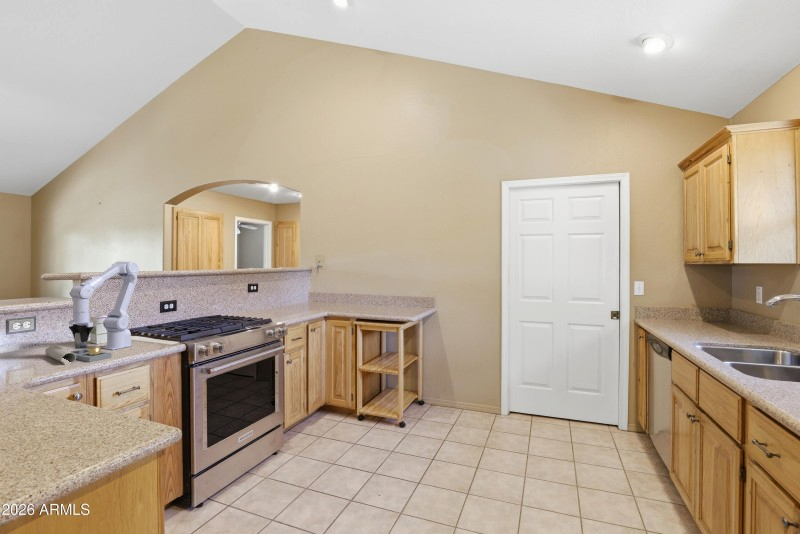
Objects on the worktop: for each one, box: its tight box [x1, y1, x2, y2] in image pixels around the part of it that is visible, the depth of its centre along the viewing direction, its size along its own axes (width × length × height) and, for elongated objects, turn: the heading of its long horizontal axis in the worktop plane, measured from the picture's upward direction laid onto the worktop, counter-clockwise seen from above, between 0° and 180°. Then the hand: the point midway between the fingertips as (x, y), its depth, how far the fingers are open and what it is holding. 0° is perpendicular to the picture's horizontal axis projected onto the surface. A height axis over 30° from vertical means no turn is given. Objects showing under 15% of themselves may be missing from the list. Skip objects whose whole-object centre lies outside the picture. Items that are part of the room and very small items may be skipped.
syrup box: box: [89, 314, 107, 345], centre depth 208 cm, size 6×6×14 cm
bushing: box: [74, 332, 88, 350], centre depth 181 cm, size 4×4×7 cm
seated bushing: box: [87, 346, 102, 356], centre depth 178 cm, size 4×4×5 cm
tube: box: [45, 345, 77, 365], centre depth 176 cm, size 5×5×25 cm
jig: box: [70, 348, 113, 363], centre depth 180 cm, size 9×19×2 cm, turn 67°
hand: (81, 341), depth 181 cm, fingers closed on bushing, 4 cm apart
